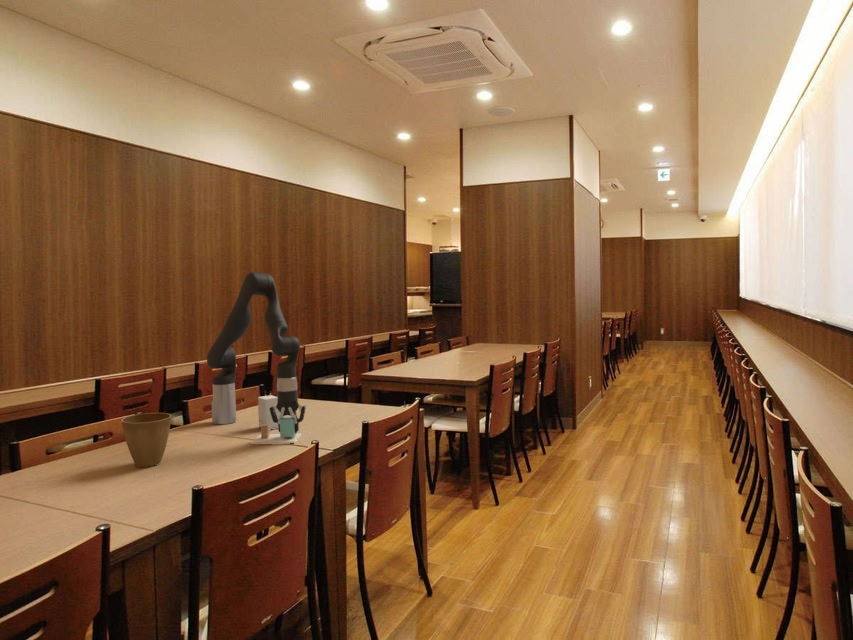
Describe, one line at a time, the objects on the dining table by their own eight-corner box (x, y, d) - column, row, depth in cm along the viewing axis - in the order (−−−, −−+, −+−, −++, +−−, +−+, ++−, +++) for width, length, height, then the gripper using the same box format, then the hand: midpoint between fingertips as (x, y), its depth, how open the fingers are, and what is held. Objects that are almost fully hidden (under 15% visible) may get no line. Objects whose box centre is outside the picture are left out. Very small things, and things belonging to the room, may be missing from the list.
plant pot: (118, 473, 180) (116, 424, 179) (129, 460, 195) (127, 414, 194) (169, 468, 184) (167, 420, 183) (176, 456, 199) (174, 411, 198)
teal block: (280, 437, 214) (279, 419, 214) (283, 433, 220) (283, 416, 219) (293, 436, 214) (293, 419, 214) (297, 433, 220) (296, 416, 219)
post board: (251, 444, 211) (250, 429, 211) (261, 436, 223) (260, 421, 223) (294, 444, 211) (293, 428, 211) (301, 435, 223) (301, 420, 223)
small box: (280, 428, 236) (279, 397, 235) (266, 431, 232) (265, 399, 231) (272, 425, 242) (271, 394, 242) (258, 427, 238) (257, 396, 238)
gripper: (308, 386, 220) (309, 430, 221) (271, 387, 220) (272, 430, 221) (303, 390, 212) (305, 435, 213) (265, 391, 212) (267, 435, 213)
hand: (288, 432), depth 217 cm, fingers closed on teal block, 4 cm apart
